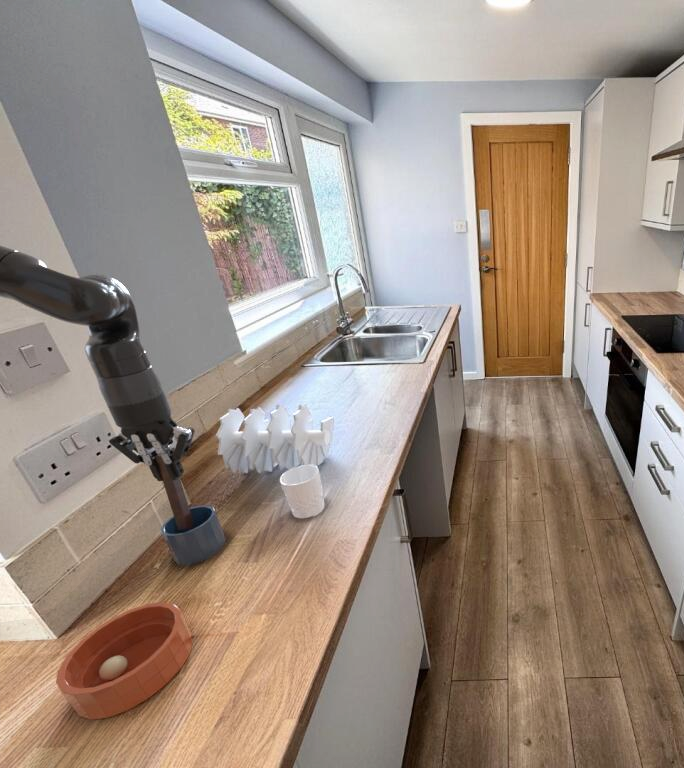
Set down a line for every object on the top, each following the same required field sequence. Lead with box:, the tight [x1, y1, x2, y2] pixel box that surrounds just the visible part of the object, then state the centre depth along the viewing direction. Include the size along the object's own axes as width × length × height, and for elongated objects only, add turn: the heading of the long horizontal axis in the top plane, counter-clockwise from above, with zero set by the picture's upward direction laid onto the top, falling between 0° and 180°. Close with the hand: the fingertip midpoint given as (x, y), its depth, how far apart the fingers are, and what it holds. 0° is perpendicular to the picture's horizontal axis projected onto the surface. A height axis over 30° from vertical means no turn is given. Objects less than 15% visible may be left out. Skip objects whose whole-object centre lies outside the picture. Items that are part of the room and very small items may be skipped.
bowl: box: [55, 601, 194, 720], centre depth 60 cm, size 14×14×6 cm
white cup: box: [279, 464, 325, 519], centre depth 92 cm, size 8×8×10 cm
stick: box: [155, 453, 194, 531], centre depth 77 cm, size 2×2×16 cm
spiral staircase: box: [214, 404, 335, 474], centre depth 108 cm, size 18×18×25 cm
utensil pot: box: [160, 505, 227, 566], centre depth 82 cm, size 9×9×8 cm
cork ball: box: [99, 656, 127, 680], centre depth 60 cm, size 3×3×3 cm
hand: (170, 477), depth 76 cm, fingers closed on stick, 2 cm apart
